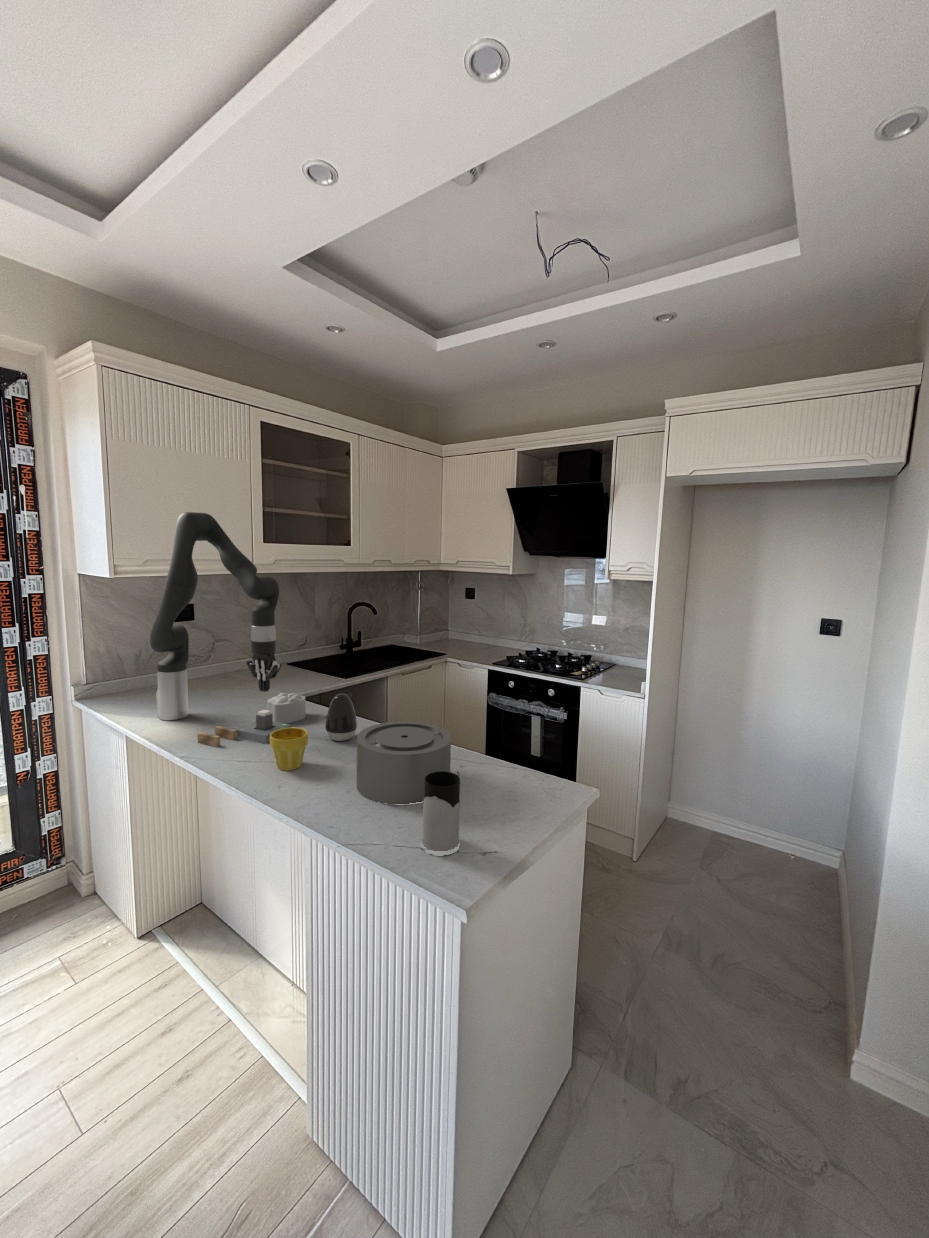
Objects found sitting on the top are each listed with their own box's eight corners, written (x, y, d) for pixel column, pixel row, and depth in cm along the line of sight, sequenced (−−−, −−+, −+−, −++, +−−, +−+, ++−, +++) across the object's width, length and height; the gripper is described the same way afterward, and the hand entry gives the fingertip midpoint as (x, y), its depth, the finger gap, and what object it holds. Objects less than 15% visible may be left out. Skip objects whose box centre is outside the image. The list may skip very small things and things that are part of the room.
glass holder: (413, 850, 110) (414, 783, 108) (440, 819, 124) (441, 758, 122) (451, 860, 107) (453, 791, 105) (474, 827, 121) (477, 765, 119)
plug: (256, 735, 173) (256, 712, 172) (264, 732, 176) (264, 709, 175) (264, 737, 171) (264, 713, 170) (272, 733, 175) (272, 710, 174)
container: (465, 794, 137) (467, 745, 135) (374, 814, 125) (374, 761, 123) (426, 759, 159) (427, 717, 157) (345, 773, 147) (345, 727, 145)
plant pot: (292, 776, 144) (292, 742, 142) (262, 769, 147) (261, 736, 146) (315, 762, 153) (315, 730, 152) (286, 756, 157) (286, 725, 155)
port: (237, 737, 171) (236, 729, 170) (264, 726, 182) (263, 718, 181) (265, 743, 166) (265, 735, 166) (291, 732, 177) (291, 724, 177)
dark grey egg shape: (363, 736, 176) (364, 692, 174) (344, 746, 166) (344, 699, 164) (339, 730, 180) (339, 687, 178) (318, 740, 171) (318, 695, 169)
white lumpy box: (264, 718, 190) (264, 695, 189) (297, 711, 200) (296, 689, 198) (278, 725, 183) (278, 701, 182) (311, 717, 193) (311, 694, 191)
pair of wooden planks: (197, 742, 165) (197, 733, 165) (218, 734, 172) (218, 725, 172) (216, 746, 162) (216, 737, 162) (237, 738, 169) (236, 729, 169)
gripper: (288, 639, 171) (288, 690, 173) (256, 635, 176) (256, 685, 178) (271, 642, 164) (272, 696, 166) (238, 638, 169) (239, 690, 171)
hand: (264, 690), depth 172 cm, fingers closed
